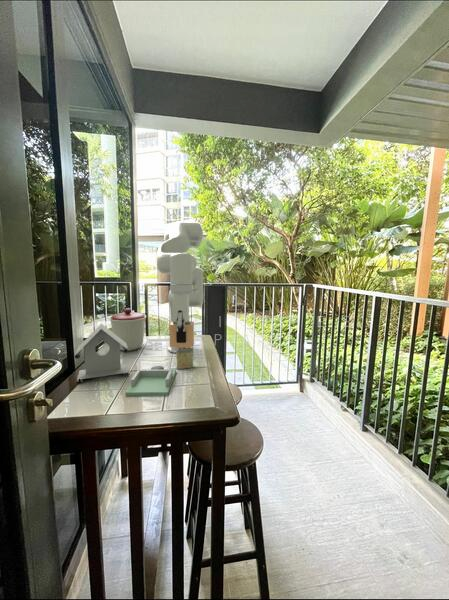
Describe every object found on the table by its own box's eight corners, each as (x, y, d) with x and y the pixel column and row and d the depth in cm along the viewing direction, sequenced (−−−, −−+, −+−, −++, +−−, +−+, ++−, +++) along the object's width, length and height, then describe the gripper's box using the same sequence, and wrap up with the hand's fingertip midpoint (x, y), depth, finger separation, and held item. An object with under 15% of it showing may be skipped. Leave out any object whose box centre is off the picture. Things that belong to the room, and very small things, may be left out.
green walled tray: (141, 372, 110) (141, 363, 110) (176, 371, 111) (176, 363, 110) (125, 395, 91) (125, 385, 90) (167, 395, 91) (167, 385, 91)
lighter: (192, 364, 119) (191, 342, 118) (194, 367, 115) (194, 345, 114) (175, 366, 117) (175, 344, 115) (177, 370, 113) (177, 346, 112)
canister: (151, 343, 151) (150, 305, 148) (141, 353, 133) (140, 311, 130) (118, 342, 151) (116, 305, 148) (104, 353, 133) (102, 311, 130)
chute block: (172, 343, 99) (171, 320, 98) (194, 343, 99) (193, 320, 98) (169, 347, 94) (169, 323, 93) (193, 347, 94) (192, 323, 93)
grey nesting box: (76, 384, 99) (72, 331, 96) (78, 374, 108) (75, 325, 105) (129, 376, 106) (127, 326, 104) (127, 367, 115) (125, 321, 112)
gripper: (174, 286, 102) (174, 333, 104) (166, 291, 85) (167, 347, 88) (194, 287, 102) (194, 333, 105) (190, 291, 85) (190, 347, 88)
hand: (182, 339), depth 96 cm, fingers closed on chute block, 5 cm apart
